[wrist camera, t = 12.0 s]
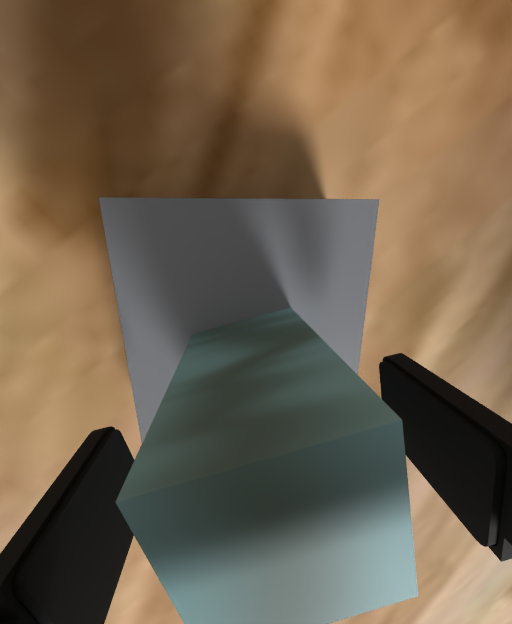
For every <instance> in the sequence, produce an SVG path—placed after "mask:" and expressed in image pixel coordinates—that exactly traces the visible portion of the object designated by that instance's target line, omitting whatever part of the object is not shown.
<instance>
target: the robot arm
mask: <svg viewBox="0 0 512 624" xmlns="http://www.w3.org/2000/svg"><path fill="white" fill-rule="evenodd" d="M379 370H380V383H381V396H382V400H383V401H384V402H385V403H386V404H387V405H388V406H389V407H390V408H391V409H392V410H393V411H394V412H395V413H396V414H397V415H398V416H399V417H400V418H401V419H402V423H403V434H404V445H405V454H406V456H407V457H408V458H409V459H410V460H411V462H412V463H413V464H414V465H415V466H416V468H417V469H418V470H419V471H420V473H421V474H422V475H423V476H424V477H425V479H426V480H427V481H428V482H429V483H430V485H431V486H432V487H433V488H434V490H435V491H436V492H437V493H438V494H439V496H440V497H441V498H442V499H443V500H444V502H445V503H446V504H447V505H448V507H449V508H450V509H451V510H452V511H453V513H454V514H455V515H456V516H457V517H458V519H459V520H460V521H461V522H462V523H463V525H464V526H465V527H466V528H467V530H468V531H469V532H470V533H471V534H472V536H473V537H474V538H475V539H476V540H477V541H478V542H479V543H480V544H481V545H483V546H485V547H486V546H488V547H489V548H490V549H491V550H492V551H493V553H494V554H495V555H496V556H497V557H498V558H499V560H500V561H505V560H508V559H512V424H511V423H510V422H508V421H507V420H505V419H504V418H502V417H500V416H499V415H497V414H496V413H494V412H493V411H491V410H490V409H488V408H486V407H485V406H483V405H482V404H480V403H479V402H477V401H476V400H474V399H472V398H471V397H469V396H468V395H466V394H465V393H463V392H462V391H460V390H459V389H457V388H455V387H454V386H452V385H451V384H449V383H448V382H446V381H445V380H443V379H441V378H440V377H438V376H437V375H435V374H434V373H432V372H431V371H429V370H427V369H426V368H424V367H423V366H421V365H420V364H418V363H417V362H415V361H413V360H412V359H410V358H409V357H407V356H406V355H404V354H402V353H398V354H394V355H390V356H386V357H384V358H383V362H381V363H380V364H379ZM133 463H134V459H133V457H132V455H131V452H130V450H129V448H128V446H127V444H126V442H125V440H124V438H123V436H122V434H121V432H120V431H119V430H117V429H116V430H115V428H114V427H106V428H102V429H98V430H94V431H92V432H91V433H90V434H89V435H88V437H87V438H86V439H85V441H84V442H83V443H82V445H81V446H80V447H79V449H78V450H77V452H76V453H75V454H74V456H73V457H72V458H71V460H70V461H69V462H68V464H67V465H66V466H65V468H64V469H63V470H62V472H61V473H60V474H59V476H58V477H57V478H56V480H55V481H54V482H53V484H52V485H51V486H50V488H49V489H48V490H47V492H46V493H45V494H44V496H43V497H42V499H41V500H40V501H39V503H38V504H37V505H36V507H35V508H34V509H33V511H32V512H31V513H30V515H29V516H28V517H27V519H26V520H25V521H24V523H23V524H22V525H21V527H20V528H19V529H18V531H17V532H16V533H15V535H14V536H13V537H12V539H11V540H10V542H9V543H8V544H7V546H6V547H5V548H4V550H3V551H2V552H1V554H0V624H104V622H105V619H106V616H107V613H108V611H109V608H110V605H111V602H112V599H113V596H114V593H115V590H116V587H117V584H118V581H119V578H120V575H121V572H122V569H123V566H124V563H125V560H126V557H127V554H128V551H129V548H130V545H131V542H132V539H133V536H134V534H133V532H132V531H131V529H130V527H129V525H128V524H127V522H126V520H125V518H124V517H123V515H122V513H121V511H120V509H119V508H118V506H117V504H116V500H117V498H118V495H119V493H120V491H121V489H122V487H123V485H124V482H125V480H126V478H127V476H128V474H129V471H130V469H131V467H132V465H133Z"/></svg>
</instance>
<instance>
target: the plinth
mask: <svg viewBox="0 0 512 624" xmlns="http://www.w3.org/2000/svg"><path fill="white" fill-rule="evenodd" d="M99 202H100V208H101V214H102V219H103V225H104V231H105V237H106V242H107V248H108V254H109V259H110V265H111V271H112V276H113V282H114V288H115V293H116V299H117V305H118V311H119V316H120V322H121V328H122V333H123V339H124V345H125V350H126V356H127V362H128V367H129V373H130V379H131V385H132V390H133V396H134V402H135V407H136V413H137V419H138V424H139V430H140V436H141V441H142V443H143V441H144V439H145V436H146V434H147V432H148V430H149V428H150V425H151V423H152V421H153V419H154V417H155V415H156V412H157V410H158V408H159V406H160V404H161V401H162V399H163V397H164V395H165V393H166V390H167V388H168V386H169V384H170V382H171V380H172V377H173V375H174V373H175V371H176V369H177V366H178V364H179V362H180V360H181V358H182V356H183V353H184V351H185V349H186V347H187V345H188V342H189V340H190V338H191V336H192V334H194V333H198V332H202V331H205V330H209V329H213V328H217V327H220V326H224V325H228V324H231V323H235V322H239V321H243V320H246V319H250V318H254V317H257V316H261V315H265V314H269V313H272V312H276V311H280V310H283V309H287V308H292V309H293V310H294V311H295V312H296V313H297V314H298V315H299V316H300V317H301V318H302V319H303V320H304V321H305V322H306V323H307V324H308V325H309V326H310V327H311V328H312V329H313V330H314V331H315V332H316V333H317V334H318V335H319V336H320V337H321V338H322V339H323V340H324V341H325V342H326V343H327V344H328V345H329V346H330V347H331V348H332V350H333V351H334V352H335V353H336V354H337V355H338V356H339V357H340V358H341V359H342V360H343V361H344V362H345V363H346V364H347V365H348V366H349V367H350V368H351V369H352V370H353V371H354V372H355V373H356V374H357V375H358V368H359V360H360V352H361V344H362V336H363V327H364V319H365V311H366V303H367V295H368V287H369V279H370V271H371V262H372V254H373V246H374V238H375V230H376V222H377V214H378V206H379V200H377V199H246V198H115V197H99Z"/></svg>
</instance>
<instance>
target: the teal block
mask: <svg viewBox="0 0 512 624" xmlns="http://www.w3.org/2000/svg"><path fill="white" fill-rule="evenodd" d="M116 504H117V506H118V508H119V509H120V511H121V513H122V515H123V517H124V518H125V520H126V522H127V524H128V525H129V527H130V529H131V531H132V532H133V534H134V536H135V538H136V539H137V541H138V543H139V545H140V546H141V548H142V550H143V552H144V553H145V555H146V557H147V559H148V561H149V562H150V564H151V566H152V568H153V569H154V571H155V573H156V575H157V576H158V578H159V580H160V582H161V583H162V585H163V587H164V589H165V590H166V592H167V594H168V596H169V597H170V599H171V601H172V603H173V605H174V606H175V608H176V610H177V612H178V613H179V615H180V617H181V619H182V620H183V622H184V624H329V623H333V622H336V621H339V620H342V619H346V618H349V617H352V616H355V615H359V614H362V613H365V612H368V611H371V610H375V609H378V608H381V607H384V606H388V605H391V604H394V603H397V602H401V601H404V600H407V599H410V598H413V597H417V596H418V588H417V577H416V566H415V555H414V544H413V533H412V522H411V511H410V500H409V489H408V478H407V467H406V456H405V445H404V434H403V423H402V419H401V418H400V417H399V416H398V415H397V414H396V413H395V412H394V411H393V410H392V409H391V408H390V407H389V406H388V405H387V404H386V403H385V402H384V401H383V400H382V399H381V398H380V397H379V396H378V395H377V394H376V393H375V392H374V391H373V390H372V389H371V388H370V387H369V386H368V385H367V384H366V383H365V382H364V381H363V380H362V379H361V378H360V377H359V376H358V375H357V374H356V373H355V372H354V371H353V370H352V369H351V368H350V367H349V366H348V365H347V364H346V363H345V362H344V361H343V360H342V359H341V358H340V357H339V356H338V355H337V354H336V353H335V352H334V351H333V350H332V348H331V347H330V346H329V345H328V344H327V343H326V342H325V341H324V340H323V339H322V338H321V337H320V336H319V335H318V334H317V333H316V332H315V331H314V330H313V329H312V328H311V327H310V326H309V325H308V324H307V323H306V322H305V321H304V320H303V319H302V318H301V317H300V316H299V315H298V314H297V313H296V312H295V311H294V310H293V309H292V308H287V309H283V310H280V311H276V312H272V313H269V314H265V315H261V316H257V317H254V318H250V319H246V320H243V321H239V322H235V323H231V324H228V325H224V326H220V327H217V328H213V329H209V330H205V331H202V332H198V333H194V334H192V336H191V338H190V340H189V342H188V345H187V347H186V349H185V351H184V353H183V356H182V358H181V360H180V362H179V364H178V366H177V369H176V371H175V373H174V375H173V377H172V380H171V382H170V384H169V386H168V388H167V390H166V393H165V395H164V397H163V399H162V401H161V404H160V406H159V408H158V410H157V412H156V415H155V417H154V419H153V421H152V423H151V425H150V428H149V430H148V432H147V434H146V436H145V439H144V441H143V443H142V445H141V447H140V450H139V452H138V454H137V456H136V458H135V460H134V463H133V465H132V467H131V469H130V471H129V474H128V476H127V478H126V480H125V482H124V485H123V487H122V489H121V491H120V493H119V495H118V498H117V500H116Z"/></svg>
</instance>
